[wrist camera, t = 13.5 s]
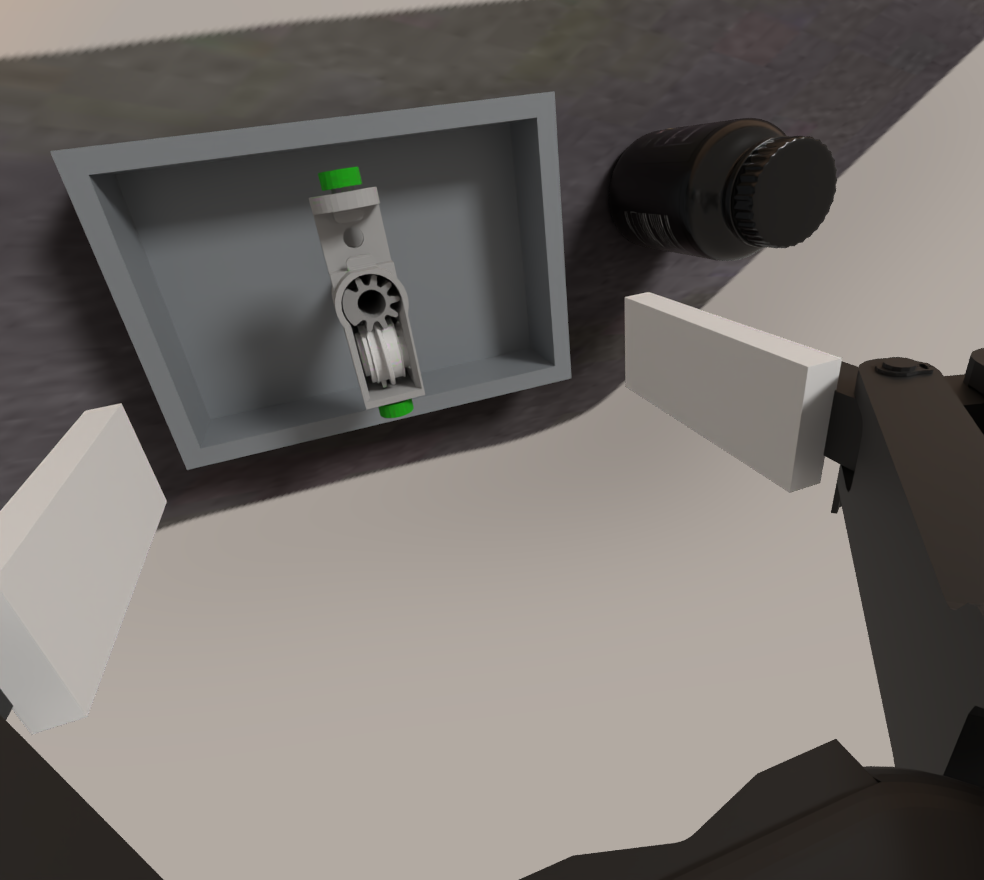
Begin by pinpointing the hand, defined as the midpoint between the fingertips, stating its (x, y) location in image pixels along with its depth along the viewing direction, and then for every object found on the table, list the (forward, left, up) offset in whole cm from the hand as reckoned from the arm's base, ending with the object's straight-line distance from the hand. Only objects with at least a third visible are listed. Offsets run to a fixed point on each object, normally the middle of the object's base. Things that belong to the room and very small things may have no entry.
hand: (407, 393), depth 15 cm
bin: (0, 0, -21) cm, 21 cm away
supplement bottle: (+19, -5, -21) cm, 29 cm away
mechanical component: (0, 0, -20) cm, 20 cm away
